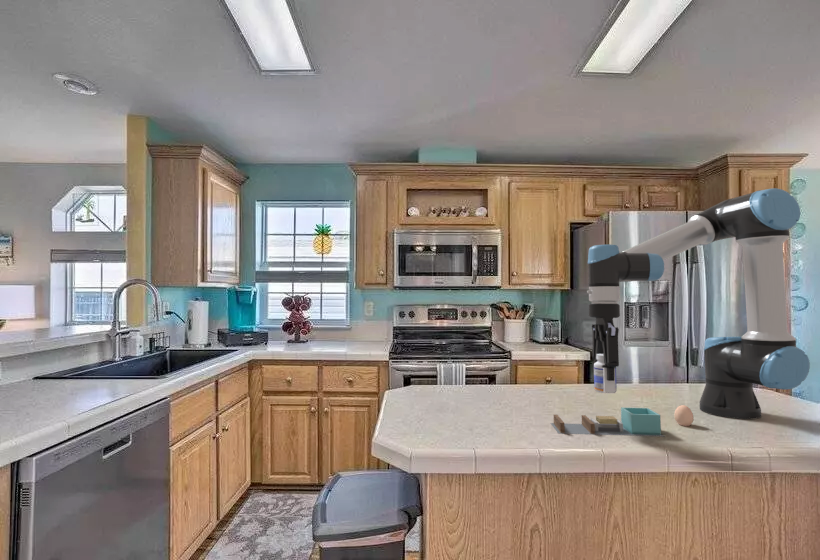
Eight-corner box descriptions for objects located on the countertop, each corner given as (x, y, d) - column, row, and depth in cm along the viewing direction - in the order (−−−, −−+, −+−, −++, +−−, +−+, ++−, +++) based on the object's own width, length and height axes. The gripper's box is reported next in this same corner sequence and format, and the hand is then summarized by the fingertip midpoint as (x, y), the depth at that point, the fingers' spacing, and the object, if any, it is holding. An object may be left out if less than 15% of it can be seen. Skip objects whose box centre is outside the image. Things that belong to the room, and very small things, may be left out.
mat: (648, 427, 117) (648, 425, 117) (664, 438, 108) (664, 436, 108) (550, 424, 120) (550, 423, 120) (558, 434, 111) (558, 433, 111)
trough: (585, 424, 118) (585, 415, 118) (594, 433, 110) (594, 423, 110) (553, 423, 119) (553, 414, 119) (560, 432, 111) (560, 422, 111)
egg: (696, 429, 115) (695, 407, 115) (677, 427, 116) (676, 406, 117) (691, 424, 119) (690, 403, 119) (672, 423, 121) (672, 402, 121)
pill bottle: (613, 389, 116) (613, 353, 117) (619, 394, 111) (618, 356, 111) (592, 388, 117) (591, 353, 118) (596, 393, 112) (596, 355, 112)
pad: (613, 420, 115) (613, 416, 115) (617, 424, 112) (617, 419, 112) (596, 420, 115) (595, 415, 116) (599, 423, 113) (599, 418, 113)
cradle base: (618, 427, 115) (617, 419, 115) (623, 431, 112) (623, 423, 112) (590, 427, 116) (590, 418, 116) (595, 431, 112) (594, 422, 112)
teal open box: (648, 426, 116) (648, 408, 116) (660, 435, 109) (660, 415, 109) (621, 426, 117) (621, 407, 117) (631, 434, 110) (631, 414, 110)
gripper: (579, 302, 125) (580, 383, 124) (600, 303, 106) (602, 398, 105) (606, 302, 124) (608, 383, 123) (632, 303, 105) (634, 398, 105)
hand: (605, 390), depth 114 cm, fingers closed on pill bottle, 5 cm apart
